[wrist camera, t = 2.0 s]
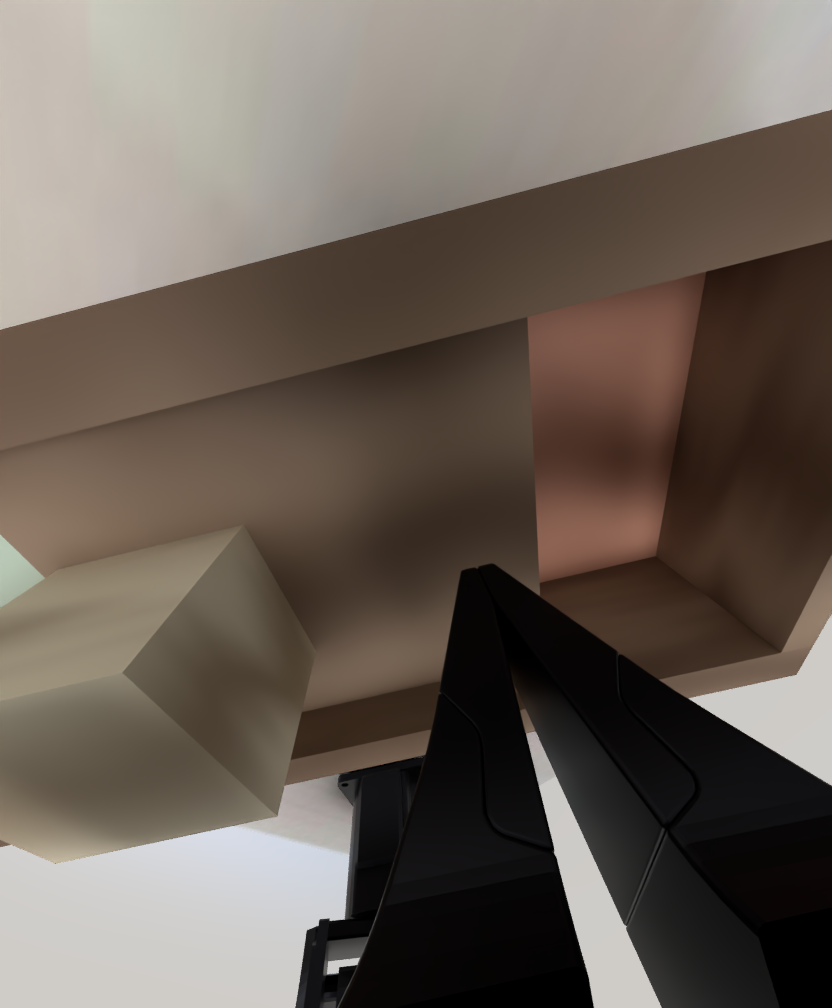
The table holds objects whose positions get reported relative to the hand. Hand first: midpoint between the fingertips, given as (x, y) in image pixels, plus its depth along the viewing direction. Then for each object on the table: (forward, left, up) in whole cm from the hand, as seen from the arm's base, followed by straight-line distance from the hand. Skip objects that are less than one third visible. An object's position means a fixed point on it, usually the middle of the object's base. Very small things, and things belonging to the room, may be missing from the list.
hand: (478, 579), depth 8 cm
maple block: (0, +8, -1) cm, 8 cm away
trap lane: (0, +8, -5) cm, 9 cm away
